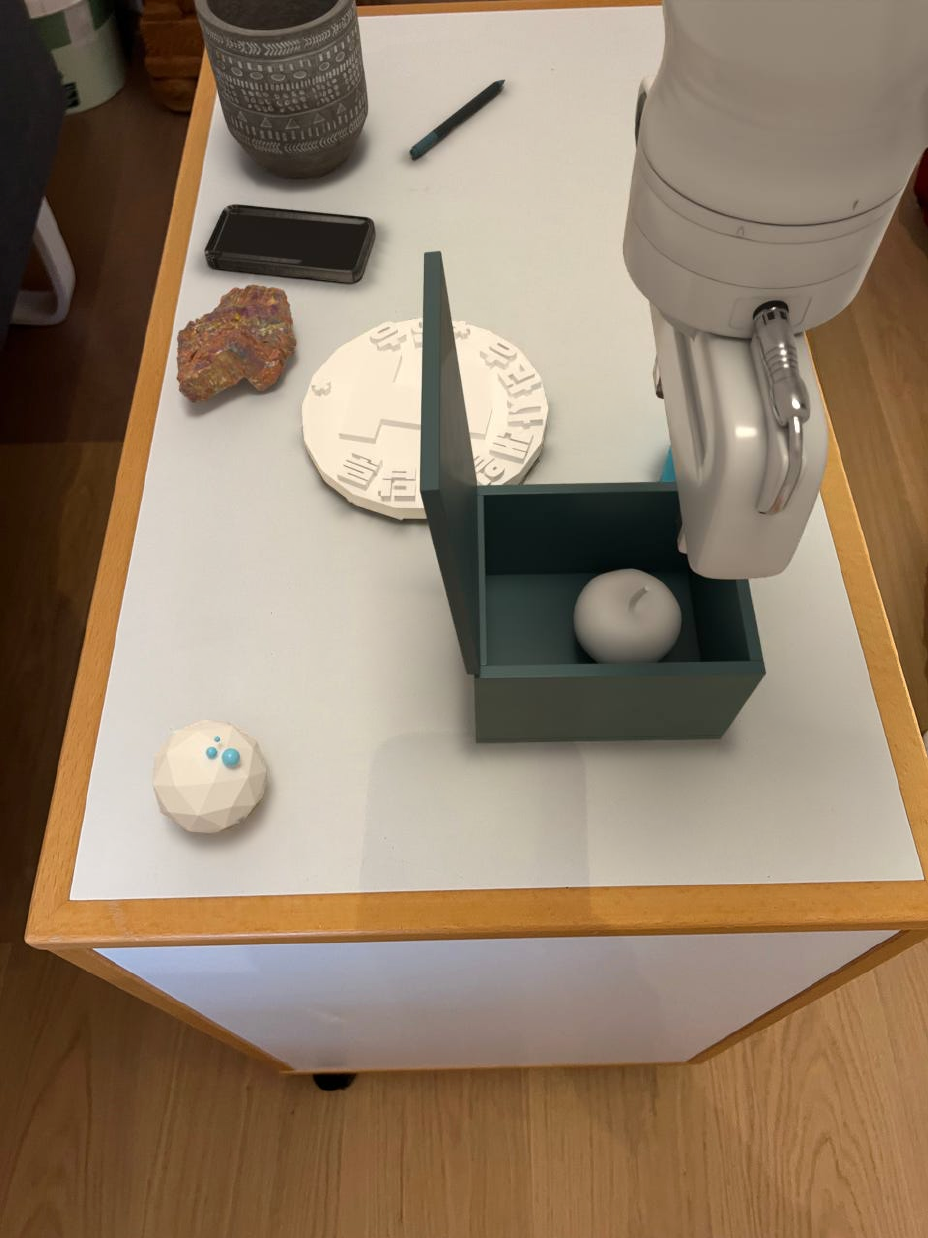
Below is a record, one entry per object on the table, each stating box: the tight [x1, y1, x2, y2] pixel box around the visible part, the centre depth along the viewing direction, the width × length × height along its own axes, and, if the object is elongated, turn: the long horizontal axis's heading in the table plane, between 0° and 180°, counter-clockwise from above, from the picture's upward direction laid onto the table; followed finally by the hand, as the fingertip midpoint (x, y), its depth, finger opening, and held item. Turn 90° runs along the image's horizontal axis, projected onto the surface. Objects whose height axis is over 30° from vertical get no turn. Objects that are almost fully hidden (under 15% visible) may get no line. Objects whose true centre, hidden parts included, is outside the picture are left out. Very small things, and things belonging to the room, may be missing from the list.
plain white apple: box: [574, 569, 682, 664], centre depth 58 cm, size 7×7×8 cm
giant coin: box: [301, 317, 549, 522], centre depth 71 cm, size 20×20×3 cm
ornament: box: [152, 718, 268, 834], centre depth 54 cm, size 7×7×8 cm
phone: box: [203, 203, 376, 283], centre depth 82 cm, size 8×1×15 cm
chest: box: [473, 481, 767, 744], centre depth 57 cm, size 17×14×11 cm
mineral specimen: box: [175, 284, 297, 404], centre depth 73 cm, size 12×8×7 cm
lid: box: [420, 250, 481, 676], centre depth 45 cm, size 18×14×1 cm
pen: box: [409, 79, 506, 158], centre depth 91 cm, size 1×16×1 cm, turn 142°
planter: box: [193, 0, 369, 181], centre depth 83 cm, size 14×14×15 cm
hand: (681, 460), depth 43 cm, fingers open, 8 cm apart
